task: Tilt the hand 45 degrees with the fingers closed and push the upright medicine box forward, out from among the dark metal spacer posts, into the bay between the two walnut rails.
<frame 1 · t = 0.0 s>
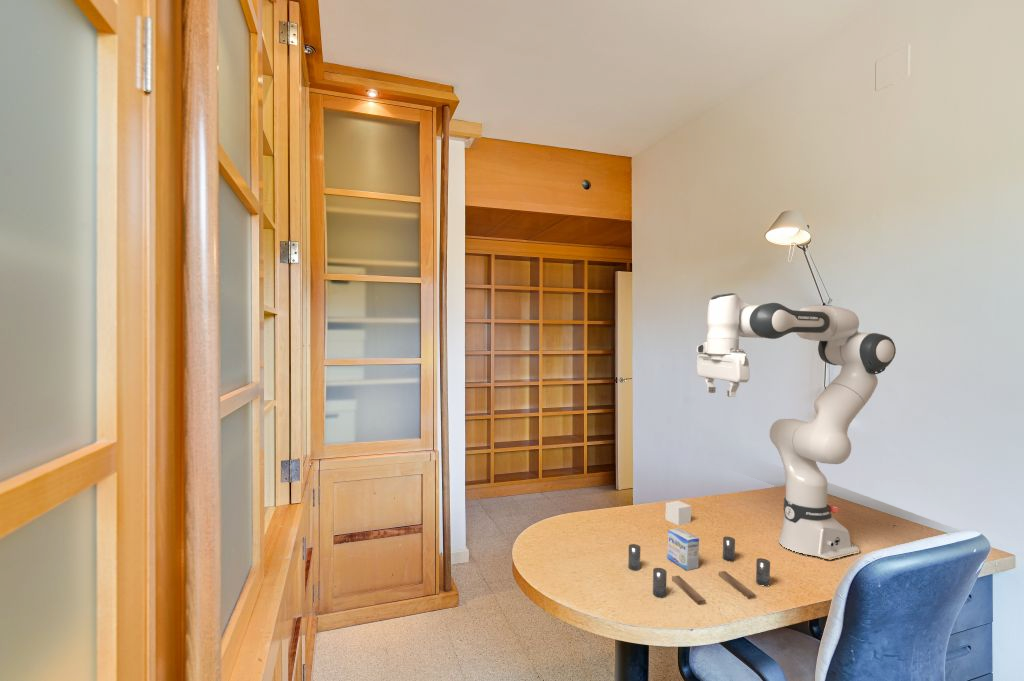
hand: (721, 394, 144), 48 cm above the table, tool pointing down, fingers open, 8 cm apart
white cube: (677, 521, 171), on the table
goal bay: (712, 588, 125), on the table
spacer posts: (696, 575, 132), on the table
medicine box: (682, 564, 139), on the table
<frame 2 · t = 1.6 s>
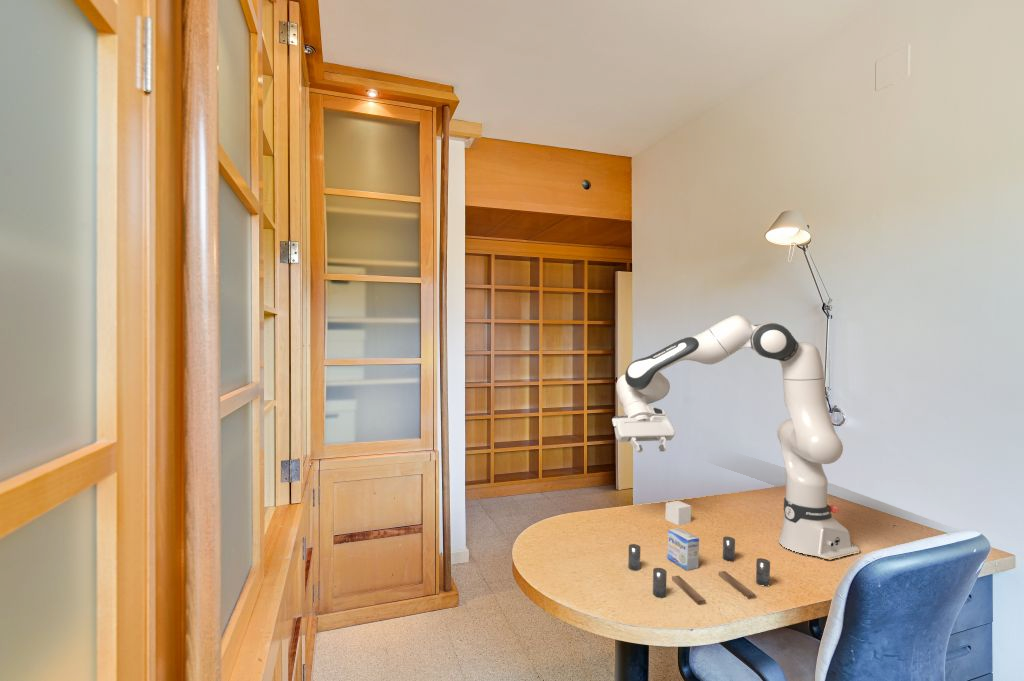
hand: (651, 451, 157), 28 cm above the table, tool tilted 45°, fingers open, 7 cm apart
nothing on the table moved.
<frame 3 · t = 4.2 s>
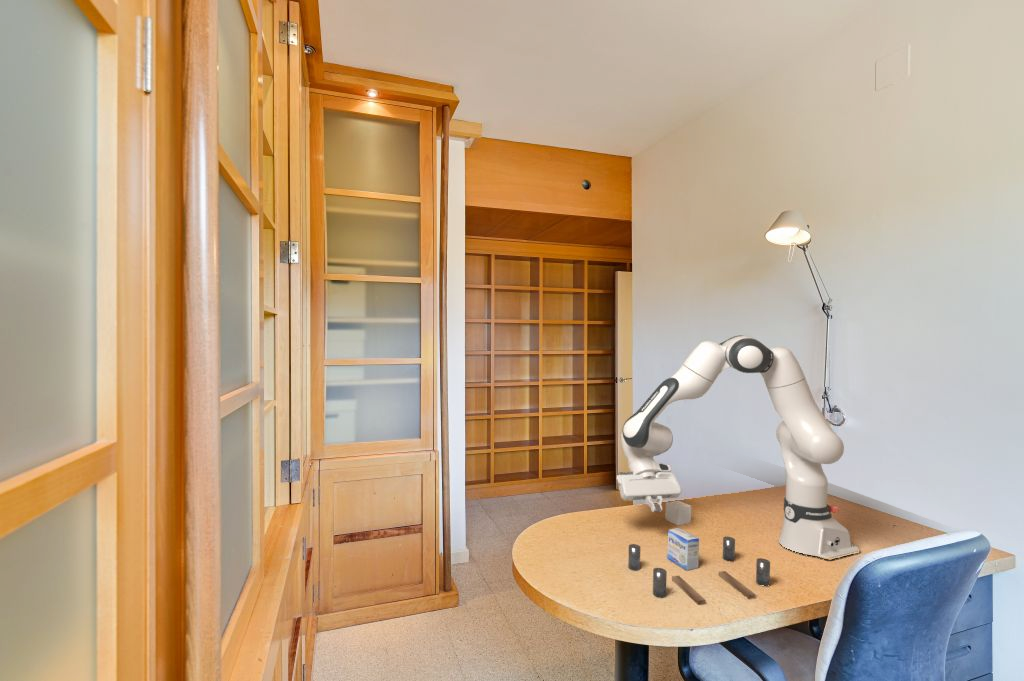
hand: (657, 511, 153), 10 cm above the table, tool tilted 45°, fingers closed
nothing on the table moved.
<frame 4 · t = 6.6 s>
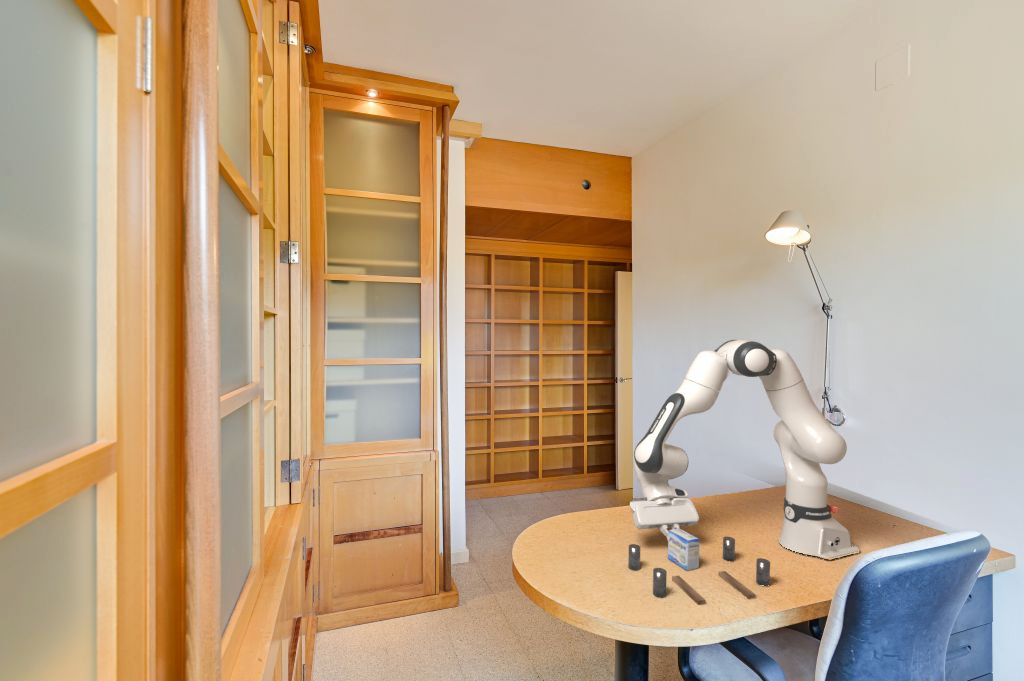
hand: (674, 540, 144), 4 cm above the table, tool tilted 45°, fingers closed
medicine box: (682, 564, 139), on the table, touching gripper
everything else where it was.
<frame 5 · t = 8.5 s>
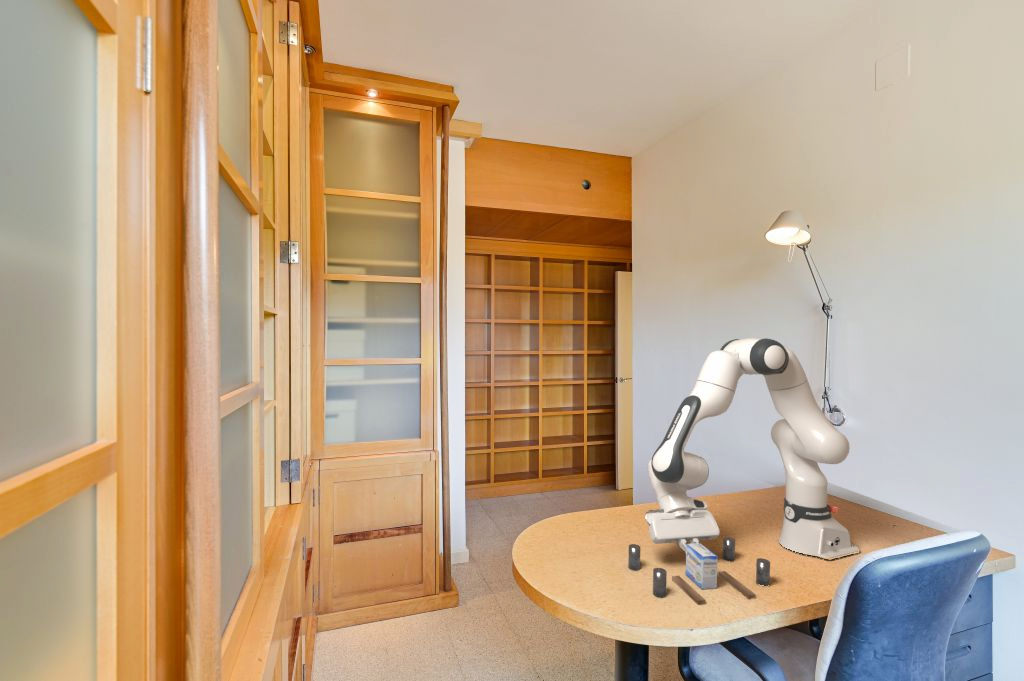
hand: (693, 556, 133), 5 cm above the table, tool tilted 45°, fingers closed, pressing on medicine box
medicine box: (700, 582, 129), on the table, touching gripper
everything else where it was.
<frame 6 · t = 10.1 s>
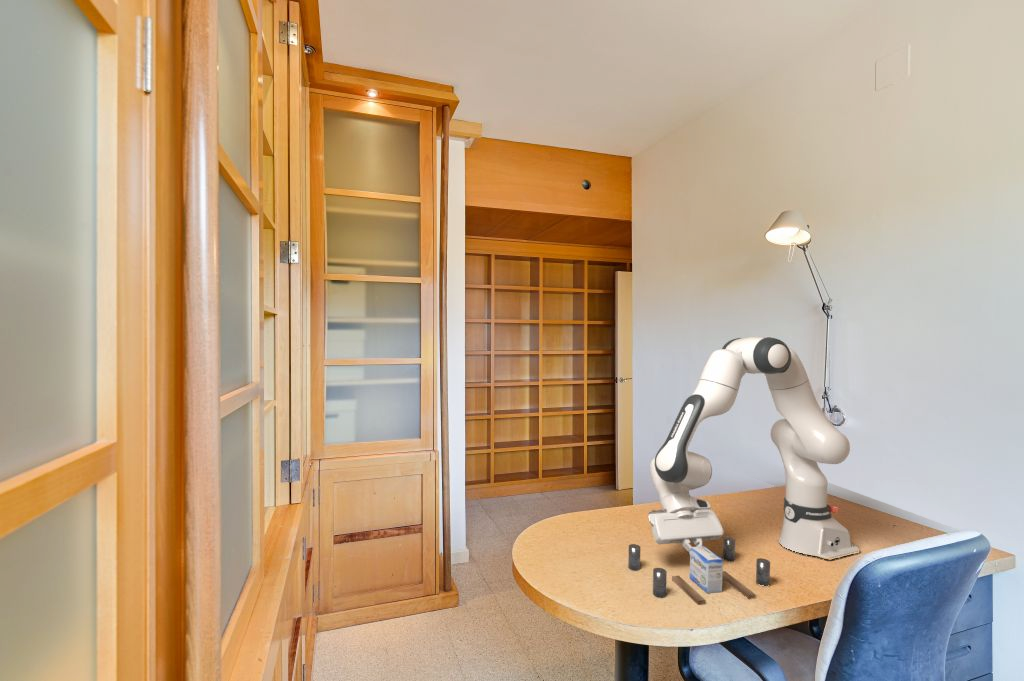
hand: (697, 556, 132), 5 cm above the table, tool tilted 45°, fingers closed
medicine box: (705, 586, 127), on the table
everything else where it was.
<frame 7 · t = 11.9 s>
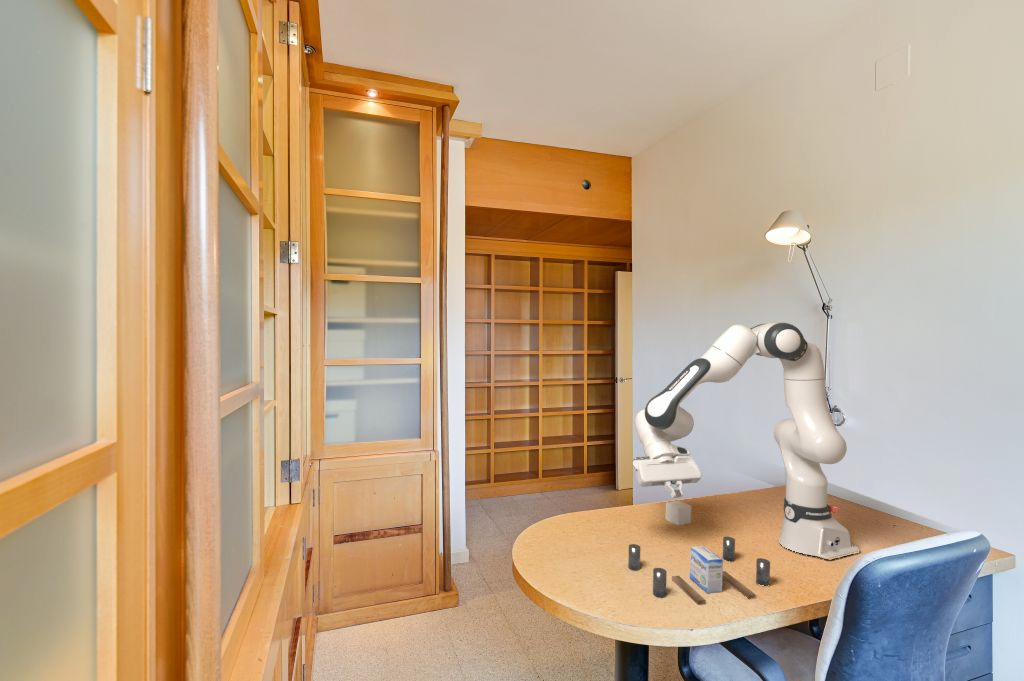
hand: (677, 496, 144), 17 cm above the table, tool tilted 45°, fingers closed
nothing on the table moved.
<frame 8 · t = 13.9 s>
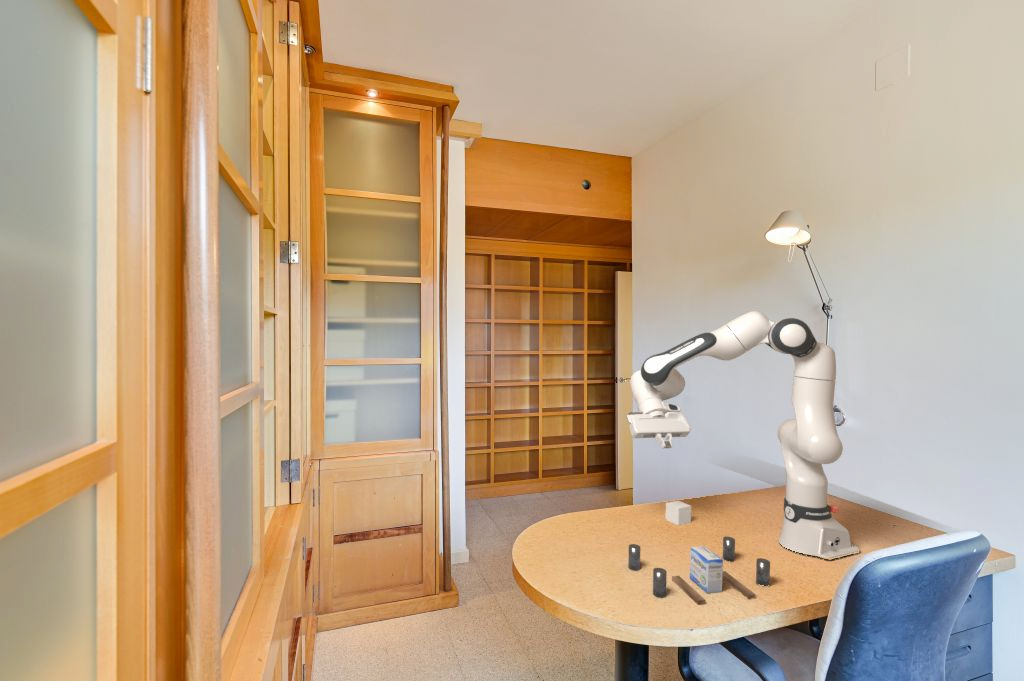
hand: (667, 447, 155), 29 cm above the table, tool tilted 45°, fingers closed
nothing on the table moved.
at the end: medicine box inside the target area (0.9 cm from its centre), on the table; medicine box tilted 0° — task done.
